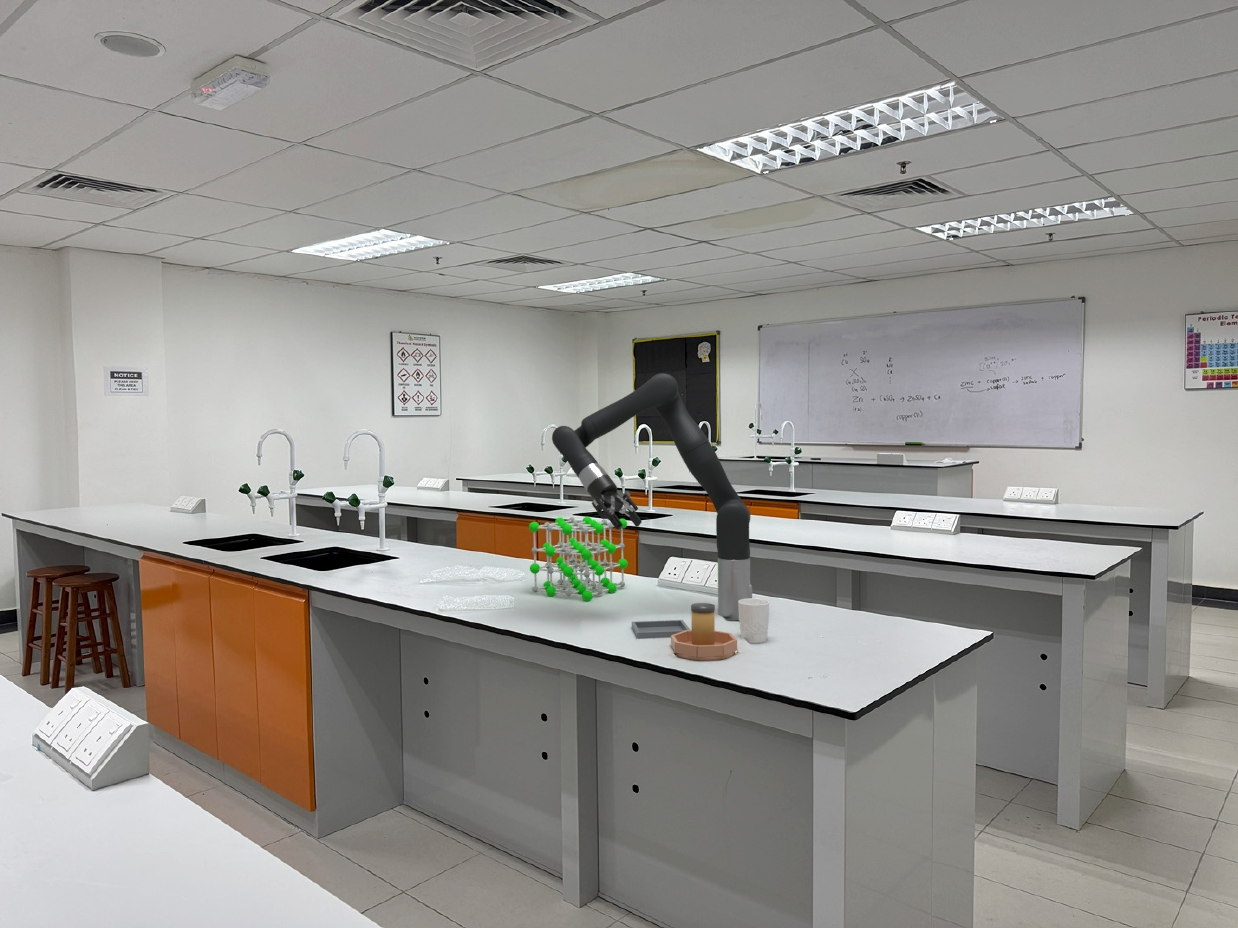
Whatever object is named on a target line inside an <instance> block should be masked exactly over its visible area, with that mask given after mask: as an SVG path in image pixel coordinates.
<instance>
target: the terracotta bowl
mask: <svg viewBox="0 0 1238 928" xmlns="http://www.w3.org/2000/svg"><path fill="white" fill-rule="evenodd" d="M670 647H671V648H672V651H673V652H672V654H673V655H674V656H676V657H679V658H680V659H685V660H689V659H691V661H701V662H711V661H721V660H726V659H729V658H731V657H733V656H734V655H735V654H736V651H737V650H738V639H737V638H736V637H735V635H734V634H732V633H731V632H726V631H721V630H720V631H719V630H715V645H699V646H697V645H692V629H690V630H686V631H682V632H680V633H677V634H674V635H671V638H670Z"/></svg>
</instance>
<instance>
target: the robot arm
mask: <svg viewBox="0 0 1238 928" xmlns="http://www.w3.org/2000/svg"><path fill="white" fill-rule="evenodd" d="M652 408H655V410H656V412H658V414H659V416H660V417H661V419H662V420H663V422H664V423H665V425H666V427H667V429H668V431H669V433H670V436H671V438H672V440H673V444H674V445H675V447H676V449H677V451H678V453H679V455H680V457H681V459H682V460H683V463H684V464H685V466H686V468H687V469H688V470H689V472H690V474H691V475H692V476H693V478H694V479H695V480H696V482H697V483H698V484H699V485H700V486H701V487H702V488H703V490H704V491H705V492H706V494H707V495H708V497H709V499H710V500H711V502H712V505H713V506H714V509H715V511H716V518H715V531H716V532H715V533H716V534H715V535H716V550H717V614H718V616H720V617H721V618H722V617H723V619H724V620H727V621H739V607H738V601H739V600H741V599H748V598H753V585H752V584H751V548H750V545H751V544H750V522H751V512H750V510H749V508H748V506H747V505H746V503H745V502H744V501H743V500H742V498H741V497H740V495H739V494H738V492H737V491H736V490H735V488H734V487H733V485H732V483H731V482H730V480H729V478H728V476H727V474H726V471H725V469H724V467H723V465H722V463H721V460H720V459H719V457H718V455H717V452H716V451H715V449H714V447H713V446H712V443H711V442H710V439H708V437H707V435H706V434H705V433H704V431H703V430H702V429H701V427H700V426H699V424H697V423H696V421H695V420H694V419H693V418H692V416H691V415H690V413H689V412H688V410H687V408H686V405H685V404H684V401H683V399H682V397H681V394H680V392H679V385H678V382H677V380H676V378H675V377H674V376H672V375H671V374H668V373H663V372H661V373H660V372H659V373H657V374H654V375H653V376H652V377H651V378H650V379H648V380H647V381H646V382H645V383H643V384H641V386H639V387H638V388H637V389H635V390H634V391H632V392H631V393H629V394H628V395H625V396H624V397H623V398H620V399H619V400H617V401H615V402H612V403H611V404H609V405H607V406H605V407H602V408H601V409H599V410H597V411H595V412H593V413H591V414H590V415H587V416H586V417H584V418H583V419H582V420H581V422H580V424H581V425H580V426H578V427H577V428H576V429H575V430H574V429H573V428H572V427H570V426H567V425H559V426H557V428H555V429H554V430H553V432H552V433H551V434H552V436H551V440H552V443H553V445H554V447H555V448H556V449H557V450H558V452H559V453H560V455H562V457H564V459H565V460H566V462H567V463H568V464H569V466H570V467H571V469H572V471H573V473H574V474H575V475H576V477H577V478H578V480H579V481H580V483H581V484H582V487H584V489H585V491H586V492H587V493H588V494H589V495H590V497H591V498H592V502H591V505H592V507H593V508H594V509H595V511H596V513H597V514H598V516H599V517H600V518H601V520H603V519H606V520H607V521H609V522H611V523H612V525H613V526H614V527H613V528H615V530H621V527H622V526H623V524H622V522H621V521H620V520H619V519H620V518H619V517H618V516H617V514H615V512H618V513H620V514H622V515H623V514H625V516H627V517H628V518H629V520H630V521H631V522H632V523H633V524H634V526H635V527H639V526H640V525H641V524H642V523H643V522H642V521H643V520H642V519H641V518H640V517H639V515H638V513H636V512H637V511H638V510H639V507H638V506H637V505H636V503H635V502H634V501H633V500H632V498H631V497H630V496H629V495H628V494H627V493H623V495H620V494H619V493H618V491H617V490H618V486H617V484H616V483H615V482H614V480H613V479H612V478H611V477H610V475H609V474H608V472H607V471H606V470H605V469H604V467H602V466H601V464H600V463H599V462H598V461H597V459H596V458H595V457H594V456H593V454H591V453H590V452H589V450H588V449H587V447H589V445H591V444H592V443H593V442H595V440H597V439H599V438H601V437H603V436H605V435H606V434H608V433H611V432H612V431H614V430H615V429H617V428H619V427H620V426H622V425H624V424H625V423H626V422H628V421H629V420H631V419H632V418H634V417H635V416H638V415H639V414H641V413H643V412H644V411H647V410H649V409H652ZM602 510H603V511H602Z"/></svg>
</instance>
